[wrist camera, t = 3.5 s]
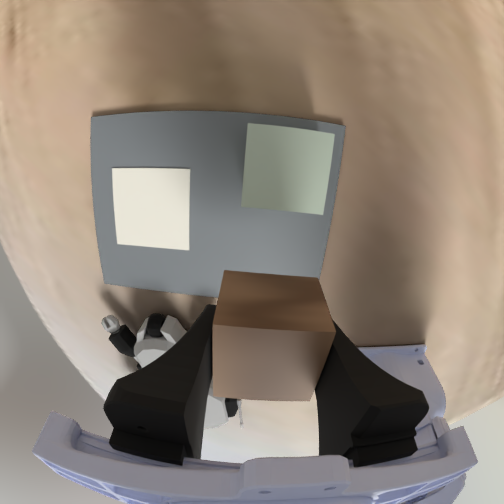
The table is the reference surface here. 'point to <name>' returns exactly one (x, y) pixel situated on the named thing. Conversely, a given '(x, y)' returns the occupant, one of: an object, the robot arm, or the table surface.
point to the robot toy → (156, 344)
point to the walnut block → (270, 336)
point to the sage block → (286, 168)
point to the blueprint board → (195, 202)
